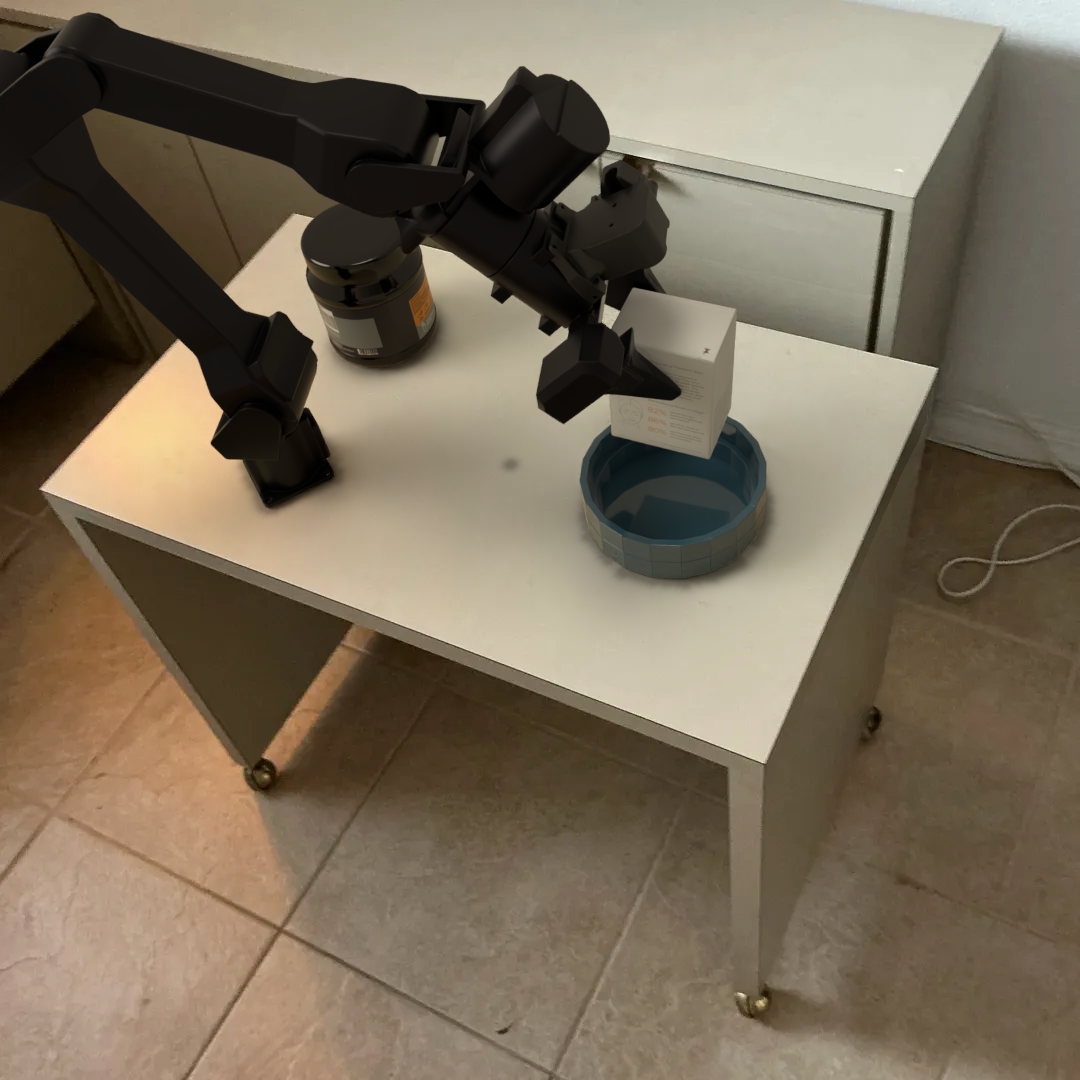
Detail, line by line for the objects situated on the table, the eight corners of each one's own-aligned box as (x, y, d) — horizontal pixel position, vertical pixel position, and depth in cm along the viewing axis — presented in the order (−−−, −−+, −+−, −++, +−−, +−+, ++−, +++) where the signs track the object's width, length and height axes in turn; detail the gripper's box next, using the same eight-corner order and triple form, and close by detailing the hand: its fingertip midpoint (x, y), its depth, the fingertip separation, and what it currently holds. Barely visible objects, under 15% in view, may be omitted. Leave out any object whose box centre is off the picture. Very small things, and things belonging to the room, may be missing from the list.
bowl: (644, 610, 84) (640, 576, 81) (555, 488, 93) (548, 453, 89) (801, 527, 87) (804, 490, 84) (701, 416, 95) (700, 378, 92)
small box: (732, 409, 87) (740, 307, 78) (709, 462, 84) (716, 362, 75) (633, 385, 89) (632, 283, 80) (608, 436, 86) (604, 336, 77)
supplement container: (453, 299, 108) (427, 195, 99) (422, 377, 103) (391, 274, 93) (352, 293, 111) (318, 191, 101) (316, 369, 105) (276, 268, 96)
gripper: (569, 264, 63) (761, 404, 70) (603, 77, 74) (767, 214, 81) (457, 363, 71) (640, 480, 78) (503, 181, 82) (660, 298, 88)
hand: (680, 362), depth 81 cm, fingers closed on small box, 6 cm apart
